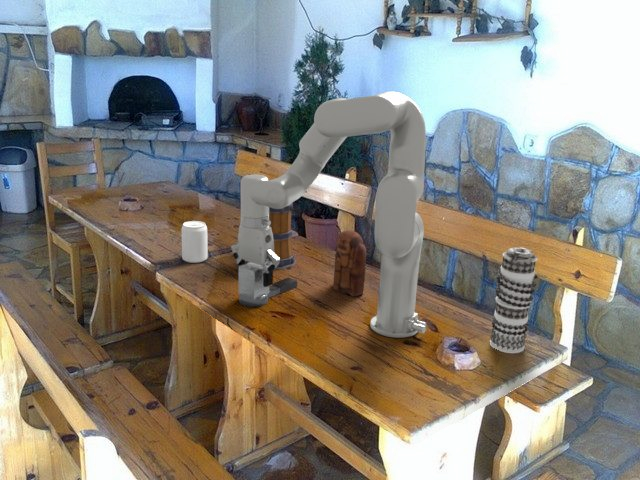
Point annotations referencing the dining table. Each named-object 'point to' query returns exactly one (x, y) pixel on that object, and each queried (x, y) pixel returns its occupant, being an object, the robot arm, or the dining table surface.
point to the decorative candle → (513, 300)
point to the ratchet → (273, 290)
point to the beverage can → (194, 241)
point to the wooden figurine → (350, 264)
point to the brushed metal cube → (252, 280)
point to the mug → (282, 235)
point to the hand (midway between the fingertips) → (255, 280)
